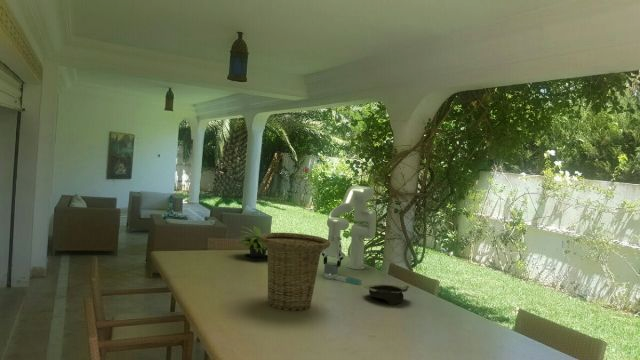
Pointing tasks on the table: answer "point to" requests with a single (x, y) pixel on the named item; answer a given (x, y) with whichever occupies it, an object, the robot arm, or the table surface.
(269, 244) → the wicker basket
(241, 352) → the table surface
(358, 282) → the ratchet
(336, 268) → the brushed grey cube
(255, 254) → the fern plant
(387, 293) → the stone bowl
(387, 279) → the table surface
